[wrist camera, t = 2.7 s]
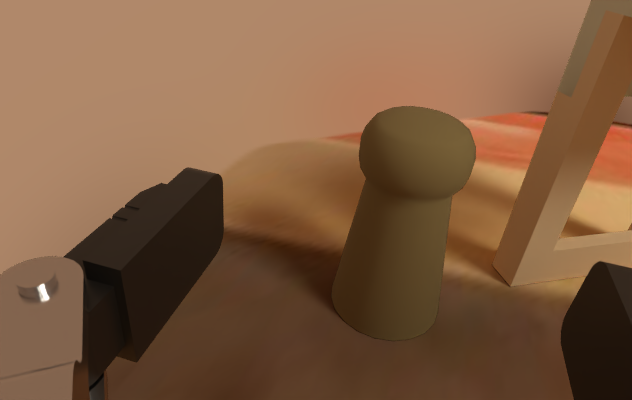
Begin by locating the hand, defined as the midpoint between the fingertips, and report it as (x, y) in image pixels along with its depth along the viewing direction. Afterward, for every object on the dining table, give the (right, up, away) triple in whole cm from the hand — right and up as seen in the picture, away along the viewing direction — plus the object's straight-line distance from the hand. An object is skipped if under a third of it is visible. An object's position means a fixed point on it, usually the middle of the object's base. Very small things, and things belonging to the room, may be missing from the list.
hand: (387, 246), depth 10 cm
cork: (+2, -5, +16) cm, 17 cm away
